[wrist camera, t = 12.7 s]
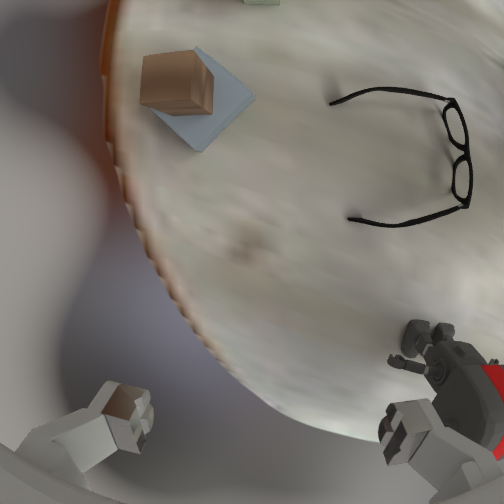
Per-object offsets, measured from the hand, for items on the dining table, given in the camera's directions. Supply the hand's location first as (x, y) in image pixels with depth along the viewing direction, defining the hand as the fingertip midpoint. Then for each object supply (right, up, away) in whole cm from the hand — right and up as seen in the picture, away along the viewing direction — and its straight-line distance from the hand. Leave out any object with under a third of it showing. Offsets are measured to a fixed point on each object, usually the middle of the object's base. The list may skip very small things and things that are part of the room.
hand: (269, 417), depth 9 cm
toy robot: (+27, -8, +31) cm, 42 cm away
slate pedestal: (-7, +24, +24) cm, 35 cm away
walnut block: (-7, +22, +21) cm, 31 cm away
